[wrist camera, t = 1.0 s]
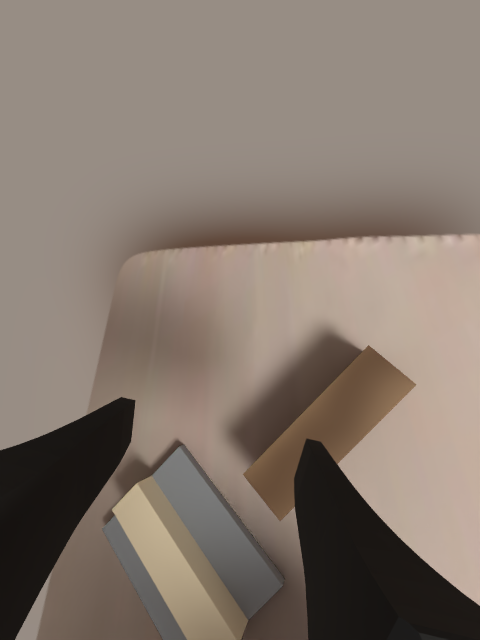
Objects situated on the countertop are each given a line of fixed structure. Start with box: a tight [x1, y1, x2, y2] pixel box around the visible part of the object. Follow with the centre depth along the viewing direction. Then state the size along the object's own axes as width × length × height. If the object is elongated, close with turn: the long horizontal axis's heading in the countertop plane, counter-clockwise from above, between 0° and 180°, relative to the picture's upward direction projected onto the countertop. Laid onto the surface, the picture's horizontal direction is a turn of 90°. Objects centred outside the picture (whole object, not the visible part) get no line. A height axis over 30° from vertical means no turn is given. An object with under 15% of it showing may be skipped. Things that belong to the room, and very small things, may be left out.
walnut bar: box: [243, 345, 416, 521], centre depth 21 cm, size 4×12×4 cm, turn 136°
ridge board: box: [102, 445, 284, 640], centre depth 22 cm, size 12×10×3 cm
